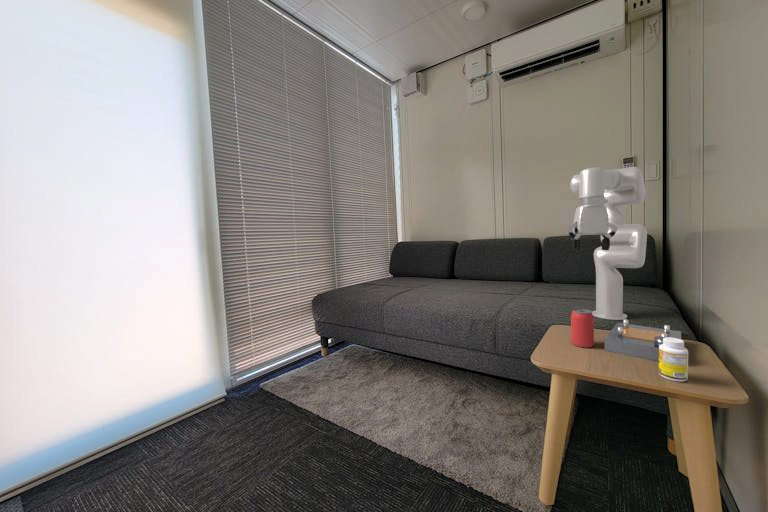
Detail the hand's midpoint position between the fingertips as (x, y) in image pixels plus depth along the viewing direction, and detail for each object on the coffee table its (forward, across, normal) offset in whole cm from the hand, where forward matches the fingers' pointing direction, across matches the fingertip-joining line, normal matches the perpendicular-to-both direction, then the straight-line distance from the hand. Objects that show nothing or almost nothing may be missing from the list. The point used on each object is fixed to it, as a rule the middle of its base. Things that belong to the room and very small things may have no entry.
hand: (590, 250), depth 108 cm
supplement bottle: (+33, -5, +31) cm, 46 cm away
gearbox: (+32, -13, +8) cm, 35 cm away
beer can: (+33, +6, +8) cm, 34 cm away
